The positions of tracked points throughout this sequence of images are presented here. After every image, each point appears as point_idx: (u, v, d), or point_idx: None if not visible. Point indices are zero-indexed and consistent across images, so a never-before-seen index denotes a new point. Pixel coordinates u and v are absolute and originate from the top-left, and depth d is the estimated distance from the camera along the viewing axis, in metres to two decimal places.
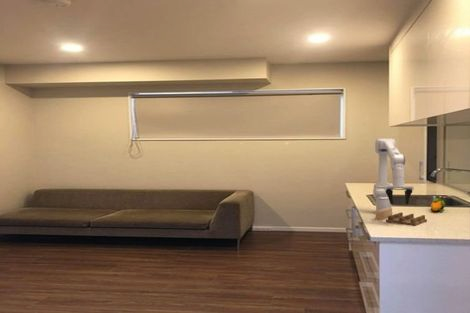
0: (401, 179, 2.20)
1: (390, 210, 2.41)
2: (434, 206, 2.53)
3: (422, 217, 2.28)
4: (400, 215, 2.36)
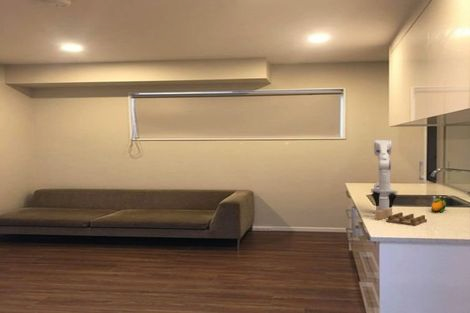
0: (383, 184, 2.35)
1: (390, 210, 2.41)
2: (434, 206, 2.53)
3: (422, 217, 2.28)
4: (400, 215, 2.36)
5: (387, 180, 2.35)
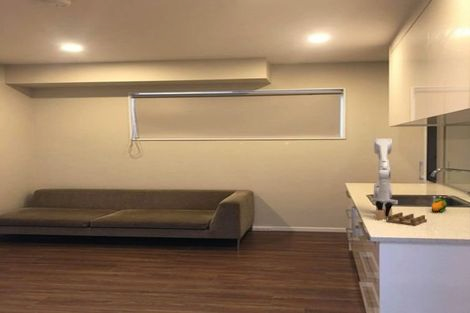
0: (383, 193, 2.36)
1: (390, 210, 2.41)
2: (434, 206, 2.53)
3: (422, 217, 2.28)
4: (400, 215, 2.36)
5: (387, 189, 2.35)
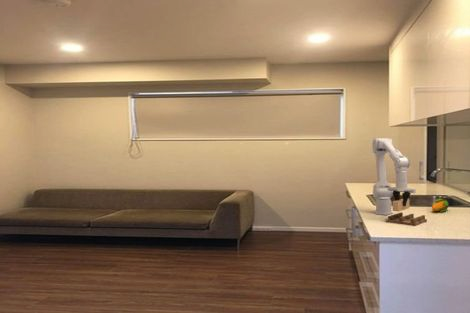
0: (400, 182, 2.28)
1: (407, 201, 2.33)
2: (434, 206, 2.53)
3: (422, 217, 2.28)
4: (400, 215, 2.36)
5: (406, 178, 2.28)
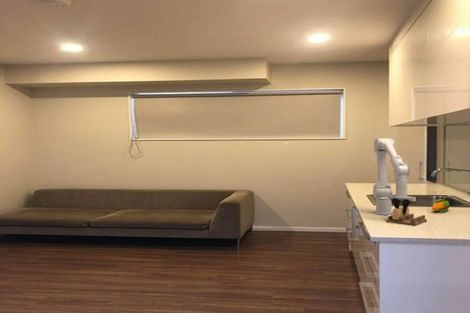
0: (400, 190, 2.28)
1: (407, 209, 2.33)
2: (434, 206, 2.52)
3: (422, 217, 2.28)
4: None
5: (406, 186, 2.28)
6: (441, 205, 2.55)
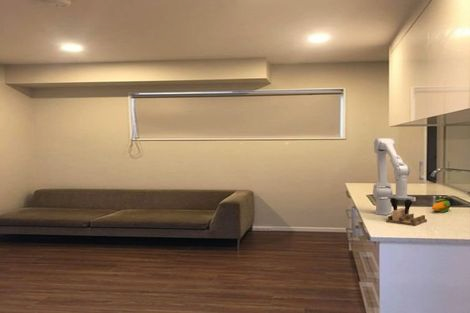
0: (400, 190, 2.28)
1: None
2: (434, 206, 2.52)
3: (422, 217, 2.28)
4: None
5: (406, 186, 2.28)
6: (441, 205, 2.55)
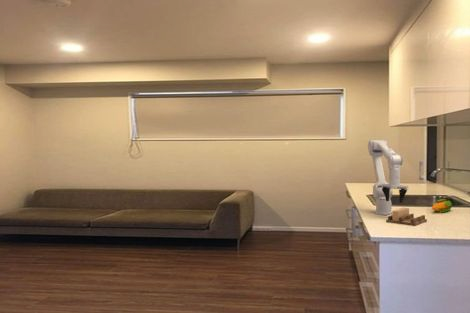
0: (393, 179, 2.34)
1: (407, 210, 2.33)
2: (434, 206, 2.52)
3: (422, 217, 2.28)
4: None
5: (399, 175, 2.34)
6: (442, 205, 2.54)
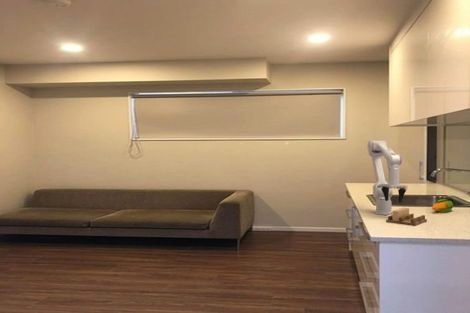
0: (393, 179, 2.35)
1: (407, 210, 2.33)
2: (433, 206, 2.52)
3: (422, 217, 2.28)
4: None
5: (398, 175, 2.35)
6: (442, 205, 2.54)
